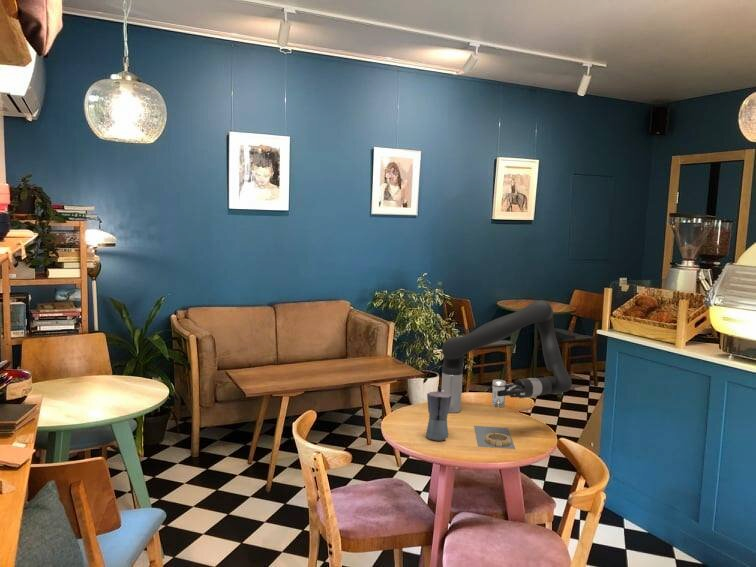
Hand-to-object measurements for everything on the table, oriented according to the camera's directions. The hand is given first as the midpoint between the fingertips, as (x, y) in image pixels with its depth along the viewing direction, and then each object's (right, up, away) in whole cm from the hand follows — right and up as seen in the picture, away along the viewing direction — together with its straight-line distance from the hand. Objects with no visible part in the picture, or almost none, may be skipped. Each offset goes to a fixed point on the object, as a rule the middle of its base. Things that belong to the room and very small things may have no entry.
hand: (493, 391), depth 233 cm
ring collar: (0, -18, -6) cm, 19 cm away
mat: (0, -19, 0) cm, 19 cm away
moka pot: (-22, -18, -1) cm, 29 cm away
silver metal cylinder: (+2, -6, +2) cm, 6 cm away
